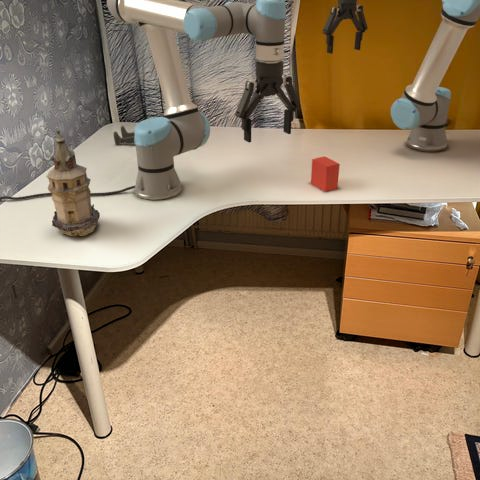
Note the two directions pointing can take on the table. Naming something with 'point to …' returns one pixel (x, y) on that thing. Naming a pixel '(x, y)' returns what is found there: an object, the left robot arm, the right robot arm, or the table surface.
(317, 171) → the block
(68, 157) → the miniature building
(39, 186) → the table surface
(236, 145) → the table surface
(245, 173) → the table surface
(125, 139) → the toy
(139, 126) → the left robot arm
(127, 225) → the table surface
